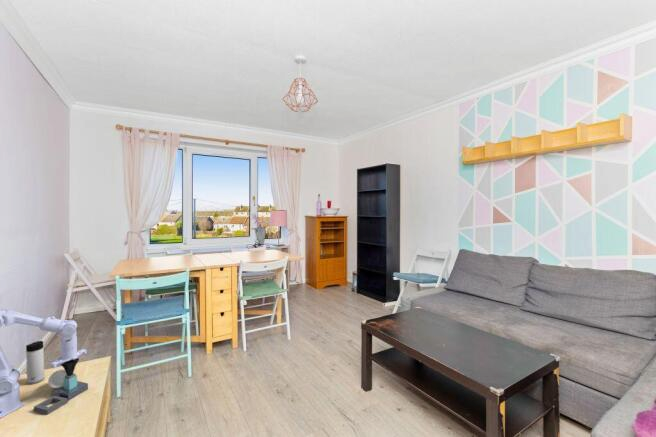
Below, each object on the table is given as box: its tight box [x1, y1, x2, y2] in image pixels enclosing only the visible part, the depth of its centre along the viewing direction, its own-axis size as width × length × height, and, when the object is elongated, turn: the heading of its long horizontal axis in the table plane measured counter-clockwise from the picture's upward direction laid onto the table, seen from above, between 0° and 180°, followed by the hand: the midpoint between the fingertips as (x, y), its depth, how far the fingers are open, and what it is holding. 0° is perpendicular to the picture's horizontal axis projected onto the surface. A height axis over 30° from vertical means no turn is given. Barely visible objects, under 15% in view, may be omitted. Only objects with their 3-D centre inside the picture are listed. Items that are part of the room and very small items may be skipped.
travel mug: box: [25, 340, 45, 385], centre depth 153 cm, size 6×7×20 cm
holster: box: [33, 395, 69, 415], centre depth 136 cm, size 8×8×2 cm
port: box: [51, 380, 89, 402], centre depth 145 cm, size 9×10×3 cm
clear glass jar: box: [47, 369, 67, 389], centre depth 149 cm, size 8×8×10 cm
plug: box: [63, 372, 78, 391], centre depth 145 cm, size 4×4×9 cm
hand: (69, 374), depth 145 cm, fingers closed
